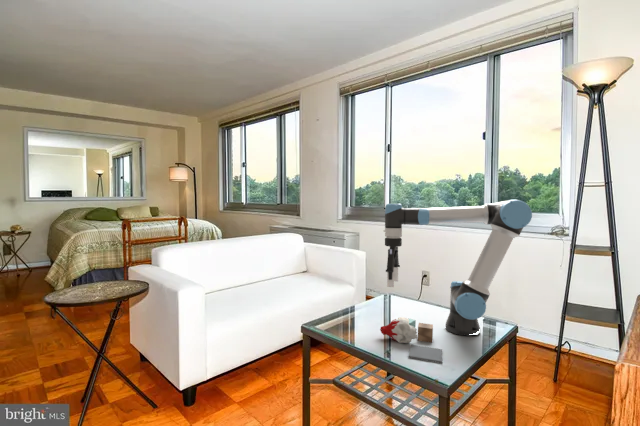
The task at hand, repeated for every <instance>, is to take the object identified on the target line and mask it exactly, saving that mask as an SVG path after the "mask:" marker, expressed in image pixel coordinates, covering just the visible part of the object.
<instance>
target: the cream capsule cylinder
mask: <svg viewBox="0 0 640 426" xmlns="http://www.w3.org/2000/svg"><path fill="white" fill-rule="evenodd" d="M399 319H403V320H406V321H407V322H408V323H409V319H410V318H409V319H408V318H407V317H403V316H401V317H398V318H397V320H399Z"/></svg>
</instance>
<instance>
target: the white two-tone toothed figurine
mask: <svg viewBox="0 0 640 426" xmlns="http://www.w3.org/2000/svg"><path fill="white" fill-rule="evenodd" d="M379 331H380V334H382V335H384V336H385V335H386V336H389V338H391V339H392V340H393V341H397V342H398V343H399V344H410V343H411V342H412V341H413V340H416V339H418V328H417V327H416V326H415V327H414V326H411V325H409V323H408V322H407V321H406V320H403V319H399V320H398V319H397V318H395V319H392V320H391V321H390V323H388V324H387V325H384V326H383V325H382V326H380V329H379Z"/></svg>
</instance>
